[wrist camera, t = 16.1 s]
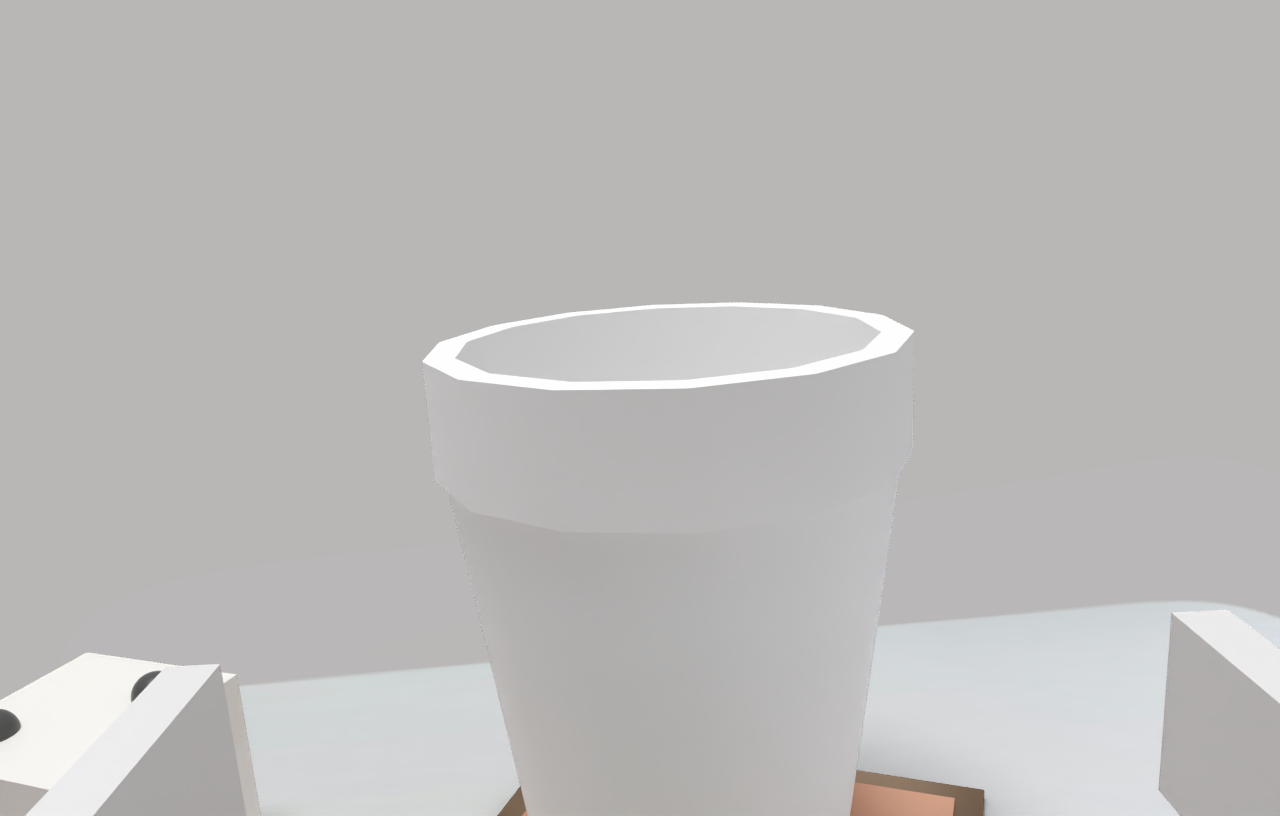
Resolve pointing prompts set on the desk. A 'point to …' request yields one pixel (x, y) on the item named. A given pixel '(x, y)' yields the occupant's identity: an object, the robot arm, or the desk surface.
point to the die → (85, 725)
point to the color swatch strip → (877, 798)
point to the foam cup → (678, 545)
